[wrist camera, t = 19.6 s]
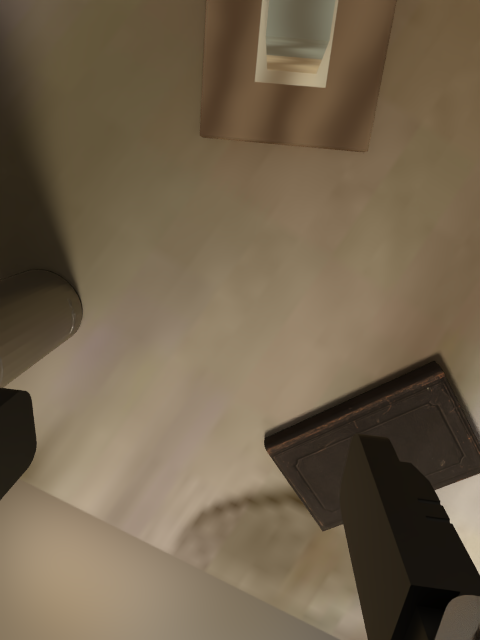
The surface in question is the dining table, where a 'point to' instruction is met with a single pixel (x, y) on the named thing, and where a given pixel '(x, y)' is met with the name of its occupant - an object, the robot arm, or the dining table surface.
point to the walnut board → (293, 78)
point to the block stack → (298, 34)
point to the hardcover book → (386, 421)
